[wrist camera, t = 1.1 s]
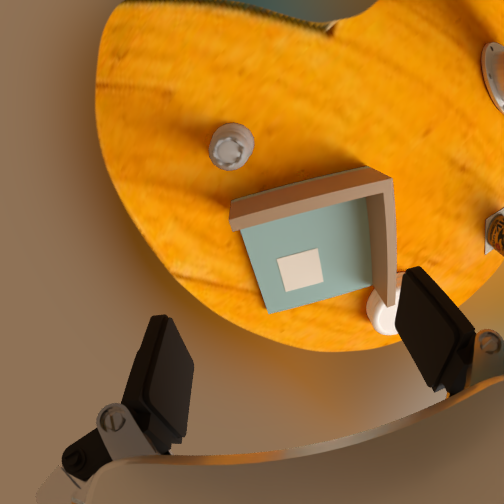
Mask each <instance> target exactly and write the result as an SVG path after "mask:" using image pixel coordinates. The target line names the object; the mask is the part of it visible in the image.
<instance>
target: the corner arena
mask: <svg viewBox="0 0 504 504" xmlns="http://www.w3.org/2000/svg"><path fill="white" fill-rule="evenodd" d="M229 223H230V225H231V228H232V231H233V232H234V231H237V230H240V231H241V234H242V237H243V240H244V243H245V246H246V249H247V252H248V255H249V258H250V261H251V264H252V267H253V270H254V273H255V276H256V278H257V281H258V284H259V287H260V290H261V293H262V296H263V299H264V302H265V305H266V308H267V311H268V314H271V313H275V312H279V311H283V310H287V309H291V308H295V307H299V306H302V305H306V304H310V303H313V302H317V301H321V300H324V299H328V298H331V297H335V296H338V295H342V294H345V293H348V292H352V291H355V290H358V289H361V288H365V287H368V286H371V285H373V287H374V288H375V290H376V291H377V293H378V294H379V296H380V298H381V299H382V301H383V302H384V304H385V306H386V307H387V308H388V307H390V306H393V305H395V299H396V274H397V239H396V215H395V200H394V189H393V179H392V178H391V177H389V176H387V175H385V174H383V173H381V172H379V171H377V170H375V169H373V168H371V167H369V166H365V167H360V168H355V169H351V170H346V171H342V172H337V173H333V174H329V175H325V176H320V177H316V178H312V179H308V180H304V181H300V182H296V183H292V184H288V185H285V186H281V187H277V188H273V189H270V190H266V191H262V192H259V193H255V194H252V195H248V196H245V197H241V198H238V199H234V200H231V207H230V214H229Z"/></svg>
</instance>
